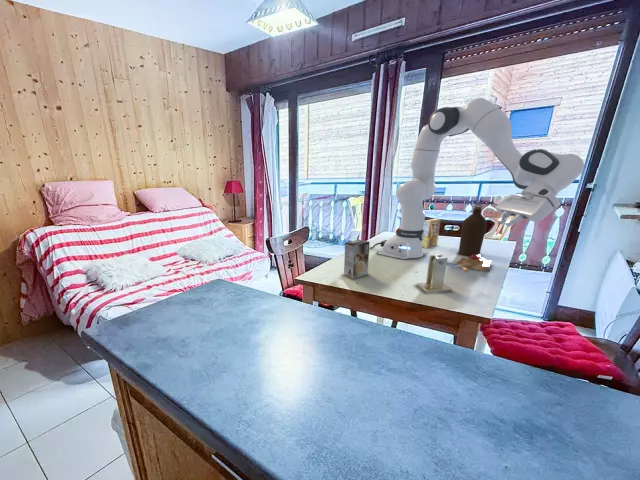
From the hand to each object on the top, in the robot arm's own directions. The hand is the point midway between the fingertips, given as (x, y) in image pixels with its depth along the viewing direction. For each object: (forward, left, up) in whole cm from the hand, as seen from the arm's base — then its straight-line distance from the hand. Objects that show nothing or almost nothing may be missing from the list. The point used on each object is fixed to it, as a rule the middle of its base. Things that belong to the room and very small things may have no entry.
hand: (503, 223), depth 123 cm
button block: (-8, +24, -25) cm, 36 cm away
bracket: (-17, -14, -25) cm, 34 cm away
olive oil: (-13, +44, -26) cm, 53 cm away
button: (-8, +24, -22) cm, 33 cm away
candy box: (-34, +51, -26) cm, 67 cm away
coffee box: (-50, -15, -26) cm, 58 cm away
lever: (-14, -11, -16) cm, 24 cm away
